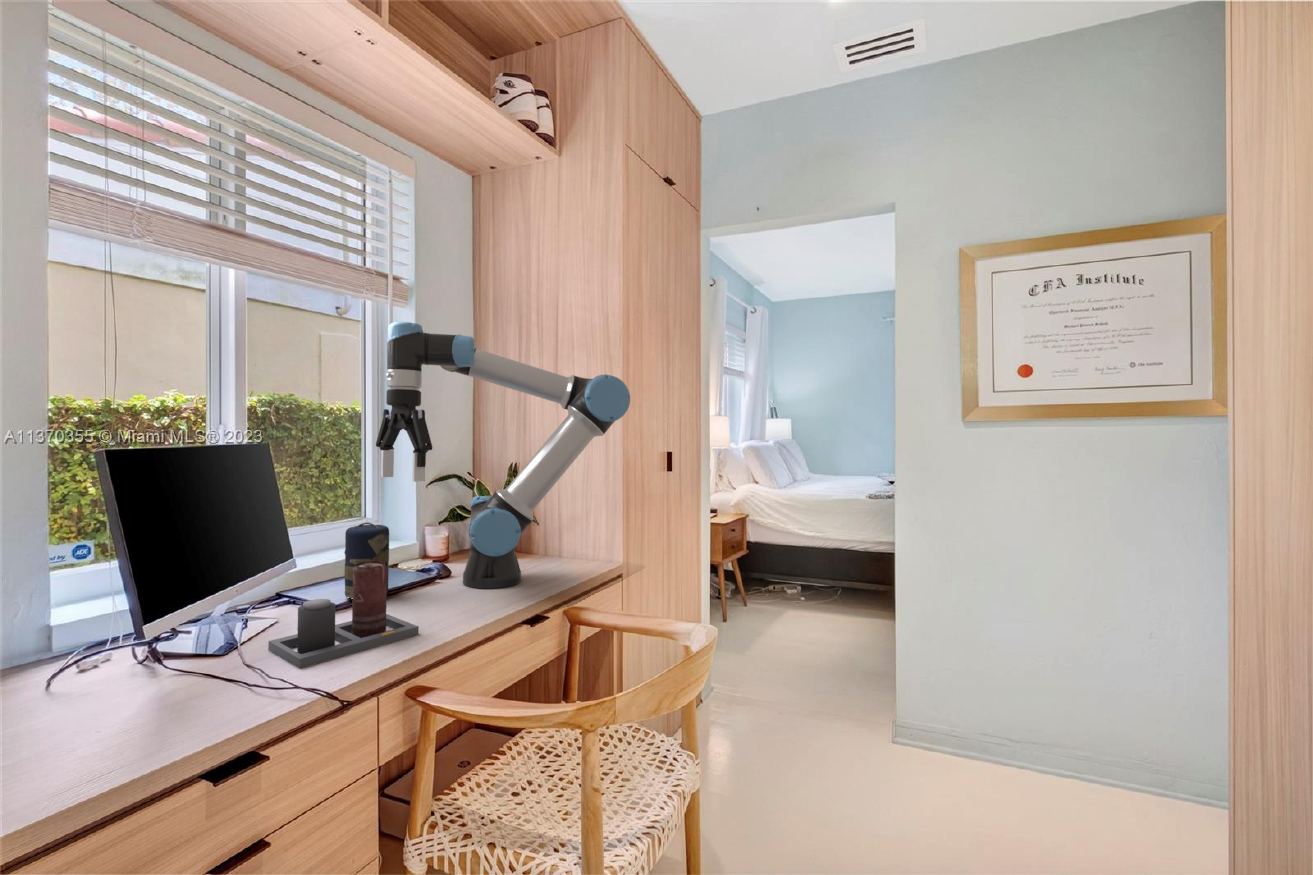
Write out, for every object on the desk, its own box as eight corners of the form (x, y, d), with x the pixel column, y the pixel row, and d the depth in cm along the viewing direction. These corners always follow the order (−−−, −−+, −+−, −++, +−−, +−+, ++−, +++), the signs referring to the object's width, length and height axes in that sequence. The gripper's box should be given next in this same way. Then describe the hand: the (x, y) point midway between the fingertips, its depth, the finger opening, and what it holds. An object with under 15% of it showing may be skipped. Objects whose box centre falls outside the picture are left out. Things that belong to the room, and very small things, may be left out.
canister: (359, 605, 137) (360, 527, 137) (335, 598, 142) (336, 522, 142) (396, 596, 145) (398, 522, 145) (373, 589, 150) (374, 518, 150)
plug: (325, 641, 115) (326, 595, 114) (340, 649, 111) (341, 601, 111) (291, 650, 110) (292, 602, 110) (306, 658, 106) (306, 609, 106)
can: (375, 640, 116) (376, 567, 116) (345, 637, 117) (346, 566, 117) (393, 629, 122) (394, 561, 122) (364, 627, 123) (365, 559, 123)
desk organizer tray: (384, 620, 127) (384, 612, 127) (418, 634, 120) (418, 625, 120) (268, 649, 110) (268, 639, 110) (299, 668, 102) (299, 657, 102)
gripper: (361, 388, 146) (360, 476, 146) (419, 386, 131) (417, 484, 131) (391, 390, 152) (389, 474, 152) (449, 389, 137) (447, 482, 137)
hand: (402, 479), depth 141 cm, fingers open, 13 cm apart
